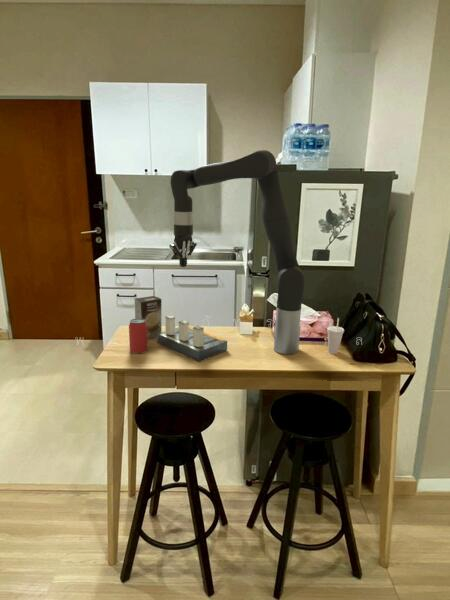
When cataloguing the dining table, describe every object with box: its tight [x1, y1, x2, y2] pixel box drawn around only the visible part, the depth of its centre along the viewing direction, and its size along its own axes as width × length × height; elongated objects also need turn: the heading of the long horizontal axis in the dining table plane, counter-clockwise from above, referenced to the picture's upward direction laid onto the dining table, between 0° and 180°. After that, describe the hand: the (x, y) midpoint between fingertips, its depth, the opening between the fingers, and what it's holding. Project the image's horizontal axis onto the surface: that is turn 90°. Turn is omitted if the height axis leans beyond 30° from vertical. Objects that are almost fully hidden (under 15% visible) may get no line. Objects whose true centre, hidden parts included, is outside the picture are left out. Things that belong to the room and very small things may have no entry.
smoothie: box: [326, 317, 345, 355], centre depth 156 cm, size 6×6×14 cm
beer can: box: [128, 318, 149, 354], centre depth 152 cm, size 7×7×12 cm
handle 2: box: [192, 325, 205, 347], centre depth 149 cm, size 2×3×7 cm
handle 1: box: [164, 315, 176, 335], centre depth 159 cm, size 2×3×7 cm
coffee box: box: [134, 295, 163, 340], centre depth 167 cm, size 9×6×16 cm
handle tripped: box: [178, 319, 190, 341], centre depth 154 cm, size 2×3×7 cm
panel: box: [156, 326, 228, 363], centre depth 158 cm, size 15×24×4 cm, turn 47°
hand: (183, 266), depth 164 cm, fingers closed
